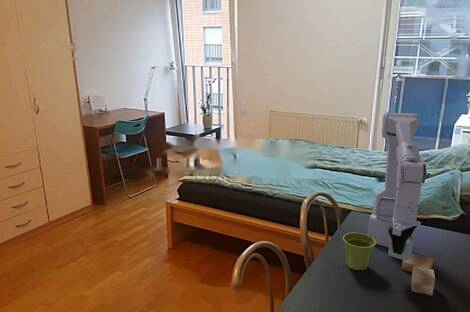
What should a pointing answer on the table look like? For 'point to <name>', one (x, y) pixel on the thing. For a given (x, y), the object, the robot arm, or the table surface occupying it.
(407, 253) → the grey cube
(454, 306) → the table surface
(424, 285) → the beech cube
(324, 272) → the table surface
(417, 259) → the oak block
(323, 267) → the table surface
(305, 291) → the table surface
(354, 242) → the plant pot
